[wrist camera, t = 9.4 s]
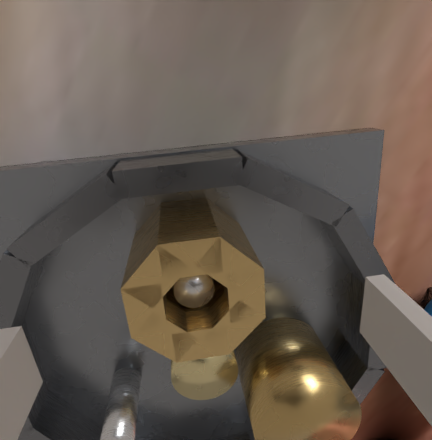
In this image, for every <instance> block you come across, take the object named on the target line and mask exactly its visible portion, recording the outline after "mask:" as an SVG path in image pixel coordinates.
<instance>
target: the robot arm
mask: <svg viewBox="0 0 432 440" xmlns="http://www.w3.org/2000/svg"><path fill="white" fill-rule="evenodd" d="M360 333H361V334H362V336H363V337H364V338H365V340H366V341H367V342H368V344H369V345H370V346H371V347H372V349H373V350H374V351H375V353H376V354H377V355H378V357H379V358H380V359H381V361H382V362H383V363H384V364H385V366H386V367H387V368H388V370H389V371H390V372H391V374H392V375H393V376H394V378H395V379H396V380H397V381H398V383H399V384H400V385H401V387H402V388H403V389H404V391H405V392H406V393H407V395H408V396H409V397H410V399H411V400H412V401H413V402H414V404H415V405H416V406H417V408H418V409H419V410H420V412H421V413H422V414H423V416H424V417H425V418H426V419H427V421H428V422H429V423H430V425H431V426H432V316H430V315H429V314H428V313H427V312H426V311H425V310H424V309H423V308H421V307H420V306H419V305H418V304H417V303H416V302H415V301H414V300H412V299H411V298H410V297H409V296H408V295H407V294H406V293H405V292H403V291H402V290H401V289H400V288H399V287H398V286H397V285H396V284H394V283H393V282H392V281H391V280H390V279H389V278H388V277H386V276H385V275H384V274H382V275H375V276H368V277H366V278H365V287H364V296H363V306H362V315H361V324H360ZM42 383H43V380H42V378H41V375H40V373H39V370H38V367H37V365H36V362H35V360H34V357H33V355H32V352H31V349H30V347H29V344H28V342H27V339H26V337H25V334H24V331H23V329H22V326H18V327H11V328H4V329H0V440H18V437H19V435H20V433H21V431H22V428H23V426H24V424H25V421H26V419H27V417H28V415H29V412H30V410H31V408H32V405H33V403H34V401H35V399H36V396H37V394H38V392H39V390H40V387H41V385H42Z"/></svg>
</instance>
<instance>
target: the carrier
mask: <svg viewBox="0 0 432 440" xmlns="http://www.w3.org/2000/svg"><path fill="white" fill-rule="evenodd" d="M383 138H384V130H381V129H375V128H363V129H354V130H344V131H335V132H326V133H316V134H307V135H297V136H288V137H278V138H269V139H259V140H250V141H240V142H231V143H222V144H212V145H203V146H193V147H184V148H174V149H165V150H155V151H146V152H136V153H127V154H118V155H108V156H99V157H89V158H80V159H70V160H61V161H51V162H42V163H32V164H23V165H14V166H4V167H0V329H4V328H11V327H18V326H22V329H23V331H24V334H25V337H26V339H27V342H28V344H29V347H30V349H31V352H32V355H33V357H34V360H35V362H36V365H37V367H38V370H39V373H40V375H41V378H42V380H43V383H42V385H41V387H40V390H39V392H38V394H37V396H36V399H35V401H34V403H33V405H32V408H31V410H30V412H29V415H28V417H27V419H26V421H25V424H24V426H23V428H22V431H21V433H20V435H19V437H18V440H351V439H352V438H353V436H354V435H355V434H356V432H357V430H358V428H359V425H360V422H361V414H362V412H361V407H360V404H361V403H362V401H363V400H364V399H365V397H366V396H367V395H368V393H369V392H370V391H371V389H372V388H373V387H374V385H375V384H376V383H377V381H378V380H379V379H380V377H381V376H382V375H383V373H384V372H385V371H384V370H383V369H382V368H386V366H385V364H384V363H383V362H382V361H381V359H380V358H379V357H378V355H377V354H376V353H375V351H374V350H373V349H372V347H371V346H370V345H369V344H368V342H367V341H366V340H365V338H364V337H363V336H362V334H361V333H360V324H361V315H362V306H363V296H364V287H365V278H366V277H368V276H375V275H382V274H384V275H385V276H386V277H388V278H389V279H390V280H391V281H392V282H393V283H394V281H393V279H392V277H391V275H390V274H389V272H388V270H387V268H386V266H385V265H384V263H383V261H382V259H381V257H380V256H379V254H378V252H377V250H376V248H375V247H374V245H373V240H374V230H375V220H376V210H377V199H378V189H379V179H380V169H381V158H382V148H383ZM204 197H206V198H208V199H209V200H210V201H211V202H213V203H214V204H215V205H217V206H218V207H219V208H220V209H222V210H223V211H224V212H226V213H227V214H228V215H229V216H231V217H232V218H233V219H235V220H236V221H237V222H239V224H240V226H241V228H242V229H243V231H244V233H245V235H246V237H247V239H248V241H249V242H250V244H251V246H252V248H253V250H254V252H255V253H256V255H257V257H258V259H259V261H260V263H261V264H262V266H263V268H264V281H265V313H266V318H265V319H264V320H263V321H262V322H261V323H260V324H259V325H258V326H257V327H256V328H255V329H254V330H253V331H252V332H251V333H250V334H249V335H248V336H247V337H246V338H245V339H244V340H243V341H242V342H241V343H240V344H239V345H238V346H237V347H236V348H235V349H234V350H233V351H232V352H231V353H230V354H228V355H222V356H215V357H209V358H203V359H197V360H191V361H184V362H178V363H176V362H174V361H172V360H171V359H169V358H167V357H165V356H163V355H161V354H159V353H158V352H156V351H154V350H152V349H150V348H148V347H147V346H145V345H143V344H141V343H139V342H137V341H136V340H134V339H132V338H131V335H130V331H129V326H128V322H127V317H126V312H125V308H124V303H123V299H122V294H121V285H122V281H123V277H124V273H125V270H126V266H127V262H128V258H129V254H130V250H131V246H132V242H133V238H134V235H135V234H136V233H137V232H138V230H139V229H140V228H141V227H142V226H143V224H144V223H145V222H146V221H147V219H148V218H149V217H150V216H151V214H152V213H153V212H154V211H155V209H156V208H157V207H158V206H159V205H160V203H161V202H170V201H178V200H187V199H196V198H204ZM394 284H395V283H394ZM213 295H214V283H213V279H212V277H210V276H209V275H207V274H205V275H198V276H191V277H184V278H179V279H178V280H177V282H176V283H175V284H174V296H175V298H176V300H177V301H178V302H179V303H180V304H181V305H183V306H186V307H190V308H196V307H200V306H203V305H205V304H206V303H208V302H209V301H210V300H211V298H212V297H213Z"/></svg>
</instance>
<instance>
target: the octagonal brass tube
mask: <svg viewBox="0 0 432 440" xmlns="http://www.w3.org/2000/svg"><path fill="white" fill-rule="evenodd" d="M205 274H207V275H209V276H210V277H212V279H213V283H214V295H213V297H212V298H211V300H210V301H209V302H208V303H206V304H205V305H203V306H200V307H196V308H190V307H186V306H183V305H181V304H180V303H179V302H178V301H177V300H176V298H175V296H174V284H175V283H176V282H177V280H178V279H179V278H184V277H191V276H198V275H205ZM121 294H122V299H123V303H124V308H125V312H126V317H127V322H128V326H129V331H130V335H131V338H132V339H134V340H136V341H137V342H139V343H141V344H143V345H145V346H147V347H148V348H150V349H152V350H154V351H156V352H158V353H159V354H161V355H163V356H165V357H167V358H169V359H171V360H172V361H174V362H176V363H178V362H184V361H191V360H197V359H203V358H209V357H215V356H222V355H228V354H230V353H231V352H232V351H233V350H234V349H235V348H236V347H237V346H238V345H239V344H240V343H241V342H242V341H243V340H244V339H245V338H246V337H247V336H248V335H249V334H250V333H251V332H252V331H253V330H254V329H255V328H256V327H257V326H258V325H259V324H260V323H261V322H262V321H263V320H264V319H265V318H266V313H265V281H264V268H263V266H262V264H261V263H260V261H259V259H258V257H257V255H256V253H255V252H254V250H253V248H252V246H251V244H250V242H249V241H248V239H247V237H246V235H245V233H244V231H243V229H242V228H241V226H240V224H239V222H237V221H236V220H235V219H233V218H232V217H231V216H229V215H228V214H227V213H226V212H224V211H223V210H222V209H220V208H219V207H218V206H217V205H215V204H214V203H213V202H211V201H210V200H209V199H208V198H206V197H204V198H196V199H187V200H178V201H170V202H161V203H160V205H159V206H158V207H157V208H156V209H155V211H154V212H153V213H152V214H151V216H150V217H149V218H148V219H147V221H146V222H145V223H144V224H143V226H142V227H141V228H140V229H139V230H138V232H137V233H136V234H135V235H134V238H133V242H132V246H131V250H130V254H129V258H128V262H127V266H126V270H125V273H124V277H123V281H122V285H121Z"/></svg>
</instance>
